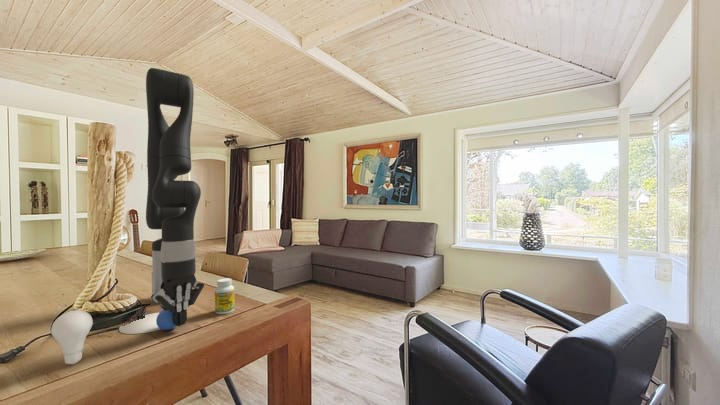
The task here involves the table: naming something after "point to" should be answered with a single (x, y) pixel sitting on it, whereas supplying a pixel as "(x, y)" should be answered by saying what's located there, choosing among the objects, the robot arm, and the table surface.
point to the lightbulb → (72, 333)
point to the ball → (165, 320)
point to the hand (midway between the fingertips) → (179, 324)
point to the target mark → (141, 325)
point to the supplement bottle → (224, 296)
